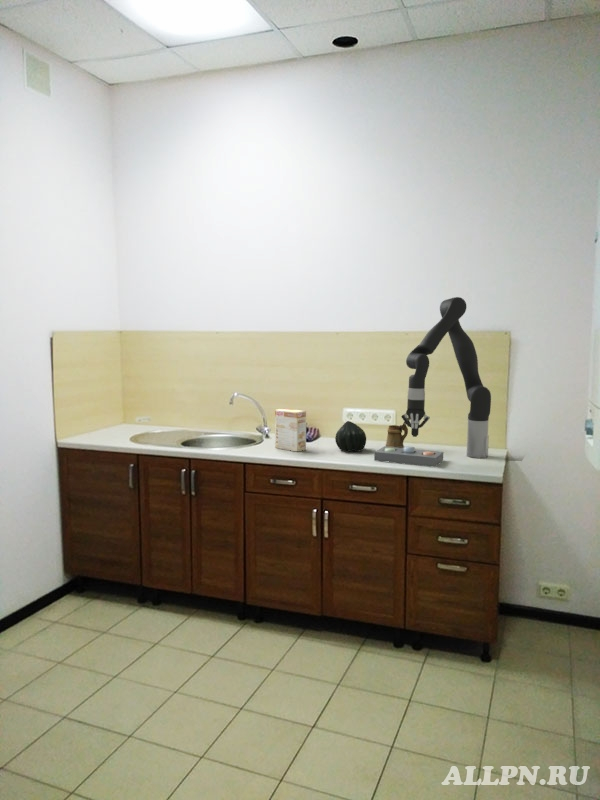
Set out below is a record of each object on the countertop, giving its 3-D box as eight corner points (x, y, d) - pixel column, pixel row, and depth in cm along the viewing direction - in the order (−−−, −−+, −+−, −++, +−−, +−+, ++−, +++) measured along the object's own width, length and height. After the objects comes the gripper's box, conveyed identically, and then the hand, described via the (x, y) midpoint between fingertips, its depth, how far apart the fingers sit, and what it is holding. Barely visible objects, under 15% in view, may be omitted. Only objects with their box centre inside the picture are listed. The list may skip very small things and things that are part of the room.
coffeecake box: (306, 449, 302) (306, 410, 300) (296, 452, 297) (296, 412, 295) (284, 445, 312) (284, 407, 310) (274, 448, 307) (274, 409, 305)
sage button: (396, 455, 284) (396, 448, 284) (393, 457, 280) (393, 450, 279) (386, 454, 286) (386, 447, 286) (383, 456, 282) (383, 449, 281)
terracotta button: (435, 459, 276) (435, 452, 276) (432, 461, 272) (432, 454, 271) (424, 458, 278) (424, 451, 278) (421, 460, 274) (421, 453, 273)
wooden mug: (409, 451, 298) (409, 415, 296) (382, 449, 304) (383, 413, 302) (414, 448, 306) (415, 412, 303) (388, 445, 312) (389, 410, 310)
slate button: (415, 453, 280) (415, 447, 279) (412, 456, 276) (412, 449, 275) (405, 452, 282) (405, 446, 282) (402, 454, 278) (402, 448, 277)
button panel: (443, 460, 279) (443, 451, 279) (435, 466, 267) (435, 457, 266) (384, 454, 292) (384, 446, 291) (374, 460, 279) (374, 451, 279)
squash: (364, 443, 290) (365, 417, 298) (333, 444, 292) (334, 417, 301) (366, 458, 301) (367, 432, 310) (336, 458, 304) (337, 432, 312)
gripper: (432, 398, 274) (431, 436, 276) (404, 396, 280) (402, 433, 282) (428, 400, 268) (427, 439, 270) (399, 398, 273) (398, 436, 275)
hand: (414, 436), depth 276 cm, fingers closed
